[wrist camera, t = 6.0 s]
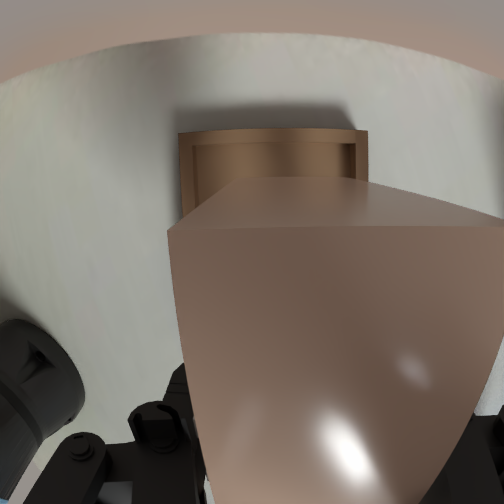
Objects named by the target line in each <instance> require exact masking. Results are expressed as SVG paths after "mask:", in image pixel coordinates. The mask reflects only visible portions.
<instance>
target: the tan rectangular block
mask: <svg viewBox="0 0 504 504" xmlns="http://www.w3.org/2000/svg"><path fill="white" fill-rule="evenodd" d="M167 235H168V246H169V255H170V265H171V274H172V282H173V290H174V298H175V306H176V313H177V320H178V327H179V334H180V340H181V347H182V353H183V359H184V365H185V370H186V376H187V382H188V387H189V392H190V398H191V403H192V408H193V413H194V418H195V422H196V427H197V432H198V436H199V441H200V445H201V450H202V454H203V458H204V462H205V466H206V470H207V474H208V478H209V482H210V486H211V490H212V494H213V497H214V501H215V504H419V502H420V501H421V499H422V498H423V497H424V495H425V494H426V492H427V491H428V490H429V488H430V487H431V485H432V484H433V482H434V481H435V479H436V478H437V476H438V475H439V473H440V471H441V470H442V468H443V467H444V465H445V463H446V462H447V460H448V458H449V457H450V455H451V453H452V452H453V450H454V448H455V446H456V445H457V443H458V441H459V439H460V437H461V435H462V434H463V432H464V430H465V428H466V426H467V424H468V422H469V420H470V418H471V416H472V414H473V412H474V410H475V407H476V405H477V403H478V401H479V399H480V396H481V394H482V392H483V390H484V387H485V385H486V382H487V380H488V377H489V375H490V372H491V370H492V367H493V365H494V362H495V359H496V356H497V354H498V351H499V348H500V345H501V342H502V339H503V336H504V220H503V219H500V218H497V217H494V216H491V215H488V214H485V213H482V212H479V211H476V210H473V209H469V208H466V207H463V206H459V205H456V204H452V203H449V202H445V201H442V200H438V199H435V198H431V197H427V196H424V195H420V194H416V193H412V192H408V191H404V190H400V189H396V188H392V187H388V186H384V185H379V184H375V183H371V182H366V181H361V180H357V179H352V178H347V177H251V178H236V179H234V180H233V181H232V182H230V183H229V184H228V185H226V186H225V187H223V188H222V189H221V190H219V191H218V192H217V193H215V194H214V195H213V196H211V197H210V198H209V199H207V200H206V201H205V202H203V203H202V204H201V205H199V206H198V207H197V208H196V209H194V210H193V211H192V212H190V213H189V214H188V215H186V216H185V217H184V218H183V219H181V220H180V221H179V222H177V223H176V224H175V225H174V226H172V227H171V228H170V229H169V230H167Z"/></svg>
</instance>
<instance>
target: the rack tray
mask: <svg viewBox="0 0 504 504" xmlns="http://www.w3.org/2000/svg"><path fill="white" fill-rule="evenodd" d="M178 136H179V161H180V181H181V198H182V213H183V218H184V217H185V216H186V215H188V214H189V213H190V212H192V211H193V210H194V209H196V208H197V207H198V206H199V205H201V204H202V203H203V202H205V201H206V200H207V199H209V198H210V197H211V196H213V195H214V194H215V193H217V192H218V191H219V190H221V189H222V188H223V187H225V186H226V185H228V184H229V183H230V182H232V181H233V180H234V179H236V178H251V177H347V178H352V179H357V180H361V181H366V182H368V131H363V130H346V129H320V128H259V129H232V130H215V131H201V132H188V133H178Z"/></svg>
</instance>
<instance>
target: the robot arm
mask: <svg viewBox="0 0 504 504" xmlns="http://www.w3.org/2000/svg"><path fill="white" fill-rule="evenodd" d="M84 401H85V391H84V386H83V383H82V380H81V378H80V375H79V373H78V371H77V369H76V368H75V366H74V364H73V363H72V361H71V360H70V358H69V357H68V356H67V354H66V353H65V352H64V351H63V350H62V348H61V347H60V346H59V345H58V344H57V343H56V342H55V341H54V340H53V339H52V338H51V337H49V336H48V335H47V334H46V333H45V332H43V331H42V330H40V329H39V328H37V327H36V326H34V325H32V324H30V323H28V322H25V321H22V320H16V319H12V320H7V321H5V322H3V323H2V324H1V325H0V504H7V503H8V501H9V498H10V497H11V494H12V493H13V491H14V489H15V488H16V486H17V484H18V482H19V480H20V479H21V477H22V475H23V474H24V472H25V470H26V468H27V467H28V465H29V463H30V462H31V460H32V458H33V457H34V455H35V453H36V452H37V450H38V448H39V447H40V445H41V444H42V442H43V441H44V440H45V439H46V438H48V437H49V436H51V435H52V434H54V433H55V432H57V431H58V430H59V429H61V428H62V427H63V426H64V425H67V424H69V423H70V422H72V421H73V420H74V419H75V418H76V416H77V415H78V413H79V412H80V410H81V409H82V407H83V405H84ZM128 423H129V426H130V428H131V431H132V433H133V436H134V438H135V441H133V442H128V443H120V444H105V442H104V441H103V440H102V439H101V438H100V437H99V436H98V435H95V434H93V433H89V432H80V433H74V434H72V435H70V436H68V437H66V438H65V439H64V440H63V441H62V442H61V443H60V445H59V446H58V448H57V449H56V451H55V453H54V454H53V456H52V457H51V459H50V460H49V462H48V464H47V465H46V467H45V468H44V470H43V471H42V473H41V475H40V476H39V478H38V479H37V481H36V483H35V484H34V486H33V488H32V489H31V491H30V492H29V494H28V496H27V497H26V499H25V501H24V502H23V504H207V500H206V493H205V490H204V481H205V475H206V477H207V481H209V478H208V474H207V470H206V466H205V462H204V458H203V454H202V450H201V445H200V441H199V436H198V432H197V427H196V422H195V418H194V413H193V408H192V403H191V398H190V392H189V387H188V382H187V376H186V370H185V365H184V363H182V364H181V365H180V366H179V367H178V368H177V369H176V370H175V371H174V372H173V374H172V377H171V379H170V382H169V385H168V387H167V390H166V394H165V395H164V398H163V401H153V402H147V403H145V404H142V405H140V406H138V407H137V408H136V409H134V410H133V411H132V412H131V414H130V416H129V418H128ZM419 504H504V405H503V406H502V408H501V410H500V412H499V413H498V415H490V416H476V415H475V414H474V412H473V414H472V416H471V418H470V420H469V422H468V424H467V426H466V428H465V430H464V432H463V434H462V435H461V437H460V439H459V441H458V443H457V445H456V446H455V448H454V450H453V452H452V453H451V455H450V457H449V458H448V460H447V462H446V463H445V465H444V467H443V468H442V470H441V471H440V473H439V475H438V476H437V478H436V479H435V481H434V482H433V484H432V485H431V487H430V488H429V490H428V491H427V492H426V494H425V495H424V497H423V498H422V499H421V501H420V502H419Z"/></svg>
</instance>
